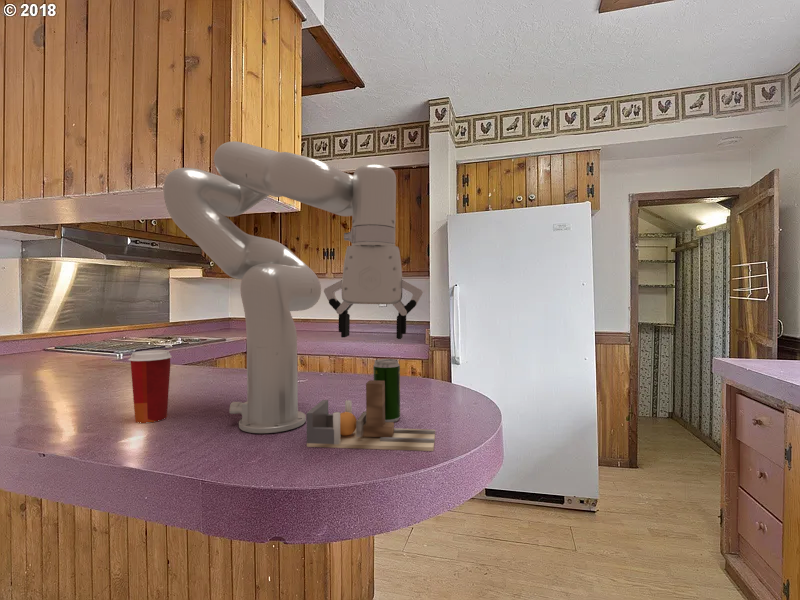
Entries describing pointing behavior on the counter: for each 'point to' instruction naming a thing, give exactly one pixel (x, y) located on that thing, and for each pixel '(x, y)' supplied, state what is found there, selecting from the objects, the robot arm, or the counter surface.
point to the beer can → (389, 386)
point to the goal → (324, 424)
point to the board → (388, 441)
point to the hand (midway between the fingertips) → (372, 337)
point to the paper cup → (150, 384)
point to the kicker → (374, 413)
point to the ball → (347, 423)
